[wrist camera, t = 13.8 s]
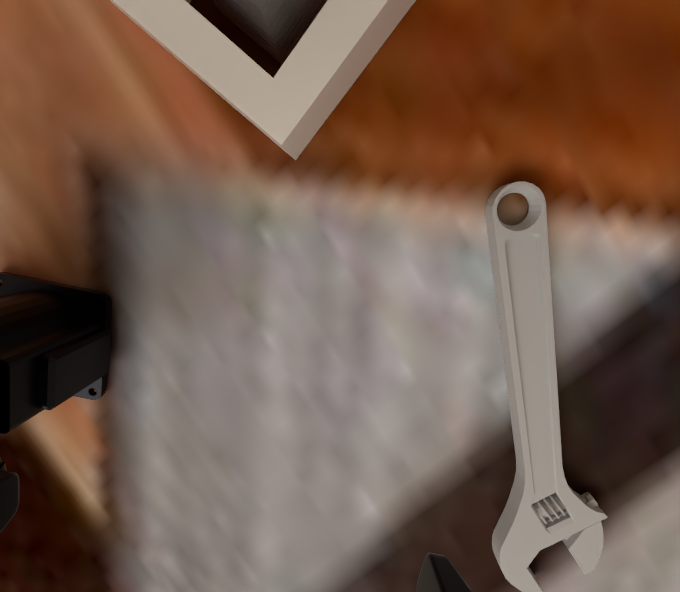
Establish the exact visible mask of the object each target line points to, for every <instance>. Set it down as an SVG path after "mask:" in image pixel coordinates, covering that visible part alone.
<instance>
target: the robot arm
mask: <svg viewBox="0 0 680 592" xmlns="http://www.w3.org/2000/svg"><path fill="white" fill-rule="evenodd" d="M0 279H1V280H2V283H1V282H0V433H2V434H5V433H8V432H9V431H11V430H12V429H14V428H16V427H17V426H19V425H20V424H22V423H24V422H25V421H27V420H28V419H30V418H31V417H33V416H35V415H36V414H38V413H39V412H41V411H43V410H44V409H46V410H52V409H53V408H55V407H56V406H58V405H60V404H61V403H63V402H64V401H66V400H67V399H69V398H70V397H72V396H76V397H81V398H86V399H91V400H96V399H99V398H100V397H101V396H103V395H104V394H105V391H106V377H107V373H108V371H109V358H110V343H111V333H110V317H111V298H110V296H109V295H108V294H107V293H104V292H100V291H95V290H90V289H85V288H80V287H75V286H70V285H65V284H60V283H56V282H51V281H46V280H41V279H36V278H31V277H26V276H21V275H16V274H11V273H6V272H0ZM98 298H99V299H101V300H102V305H101V304H100V303H99V302H98ZM93 388H94V389H95V390H96V391H97V393H96V392H95V391H94V390H93ZM18 505H19V476H18V475H17V473H14V472H9V471H6V466H5V463H4V462H1V459H0V532H1V531H2V530H3V529H4V527H5V526H6V525H7V524H8V523H9V521H10V520H11V519H12V517H13V516H14V514H15V513H16V511H17V509H18ZM417 592H472V591H471V589H470V588H469V587H468V585H467V584H466V582H465V581H464V580H463V578H462V577H461V575H460V574H459V573H458V571H457V570H456V569H455V567H454V566H453V564H452V563H451V562H450V560H449V559H448V558H447V557H446V556H444V555H439V554H434V553H428V554H427V555H426V557H425V559H424V563H423V566H422V569H421V572H420V575H419V578H418V582H417Z"/></svg>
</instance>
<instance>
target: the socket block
mask: <svg viewBox="0 0 680 592" xmlns="http://www.w3.org/2000/svg"><path fill="white" fill-rule="evenodd" d="M110 1H111V2H112V3H113V4H114V5H115V6H116V7H118V8H119V9H120V10H121V11H122V12H123V13H124V14H125V15H126V16H127V17H129V18H130V19H131V20H132V21H133V22H134V23H135V24H137V25H138V26H139V27H140V28H141V29H142V30H144V31H145V32H146V33H147V34H148V35H149V36H151V37H152V38H153V39H154V40H155V41H156V42H158V43H159V44H160V45H161V46H162V47H163V48H165V49H166V50H167V51H168V52H169V53H170V54H172V55H173V56H174V57H175V58H176V59H177V60H179V61H180V62H181V63H182V64H183V65H184V66H186V67H187V68H188V69H189V70H190V71H191V72H193V73H194V74H195V75H196V76H197V77H199V78H200V79H201V80H202V81H203V82H204V83H206V84H207V85H208V86H209V87H210V88H211V89H213V90H214V91H215V92H216V93H217V94H218V95H220V96H221V97H222V98H223V99H224V100H225V101H227V102H228V103H229V104H230V105H231V106H232V107H234V108H235V109H236V110H237V111H238V112H239V113H241V114H242V115H243V116H244V117H245V118H246V119H248V120H249V121H250V122H251V123H252V124H253V125H255V126H256V127H257V128H258V129H259V130H260V131H262V132H263V133H264V134H265V135H266V136H268V137H269V138H270V139H271V140H272V141H273V142H275V143H276V144H277V145H278V146H279V147H280V148H282V149H283V150H284V151H285V152H286V153H287V154H289V155H290V156H291V157H292V158H293V159H294V160H296V159H297V158H298V157H299V155H300V154H301V153H302V151H303V150H304V149H305V147H306V146H307V145H308V143H309V142H310V141H311V139H312V138H313V137H314V135H315V134H316V133H317V131H318V130H319V129H320V127H321V126H322V125H323V123H324V122H325V121H326V119H327V118H328V117H329V115H330V114H331V113H332V111H333V110H334V109H335V107H336V106H337V105H338V103H339V102H340V101H341V99H342V98H343V97H344V95H345V94H346V93H347V92H348V90H349V89H350V88H351V86H352V85H353V84H354V82H355V81H356V80H357V78H358V77H359V76H360V74H361V73H362V72H363V70H364V69H365V68H366V66H367V65H368V64H369V62H370V61H371V60H372V58H373V57H374V56H375V54H376V53H377V52H378V50H379V49H380V48H381V46H382V45H383V44H384V42H385V41H386V40H387V38H388V37H389V36H390V34H391V33H392V32H393V30H394V29H395V28H396V26H397V25H398V24H399V22H400V21H401V20H402V18H403V17H404V16H405V14H406V13H407V12H408V10H409V9H410V8H411V6H412V5H413V4H414V2H415V1H416V0H328V1H327V2H326V3H325V5H324V6H323V8H322V9H321V11H320V12H319V13H318V15H317V16H316V18H315V19H314V21H313V22H312V23H311V25H310V26H309V28H308V29H307V31H306V32H305V33H304V35H303V36H302V38H301V39H300V41H299V42H298V43H297V45H296V46H295V48H294V49H293V51H292V52H291V53H290V55H289V56H288V58H287V59H286V60H285V62H284V63H283V65H282V66H281V68H280V69H279V70H278V72H277V73H276V75H275V76H274V78H273V77H271V76H270V75H269V74H268V73H267V72H266V71H265V70H263V69H262V68H261V67H260V66H259V65H258V64H257V63H256V62H254V61H253V60H252V59H251V58H250V57H249V56H248V55H246V54H245V53H244V52H243V51H242V50H241V49H240V48H239V47H237V46H236V45H235V44H234V43H233V42H232V41H231V40H229V39H228V38H227V37H226V36H225V35H224V34H223V33H222V32H220V31H219V30H218V29H217V28H216V27H215V26H214V25H212V24H211V23H210V22H209V21H208V20H207V19H206V18H204V17H203V16H202V15H201V14H200V13H199V12H198V11H197V10H195V9H194V8H193V7H192V6H191V5H190V2H191V1H192V0H110Z"/></svg>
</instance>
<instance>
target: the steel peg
mask: <svg viewBox="0 0 680 592" xmlns="http://www.w3.org/2000/svg"><path fill="white" fill-rule="evenodd" d="M327 1H328V0H213V2H214V3H215V5H216V6H217V8H218V10H219V11H220V12H221V13H222V14H224V15H225V16H226V17H227V18H228V19H229V20H230V21H232V22H233V23H234V24H235V25H236V26H237V27H238V28H240V29H241V30H242V31H243V32H244V33H245V34H246V35H248V36H249V37H250V38H251V39H252V40H253V41H254V42H256V43H257V44H258V45H259V46H260V47H261V48H262V49H264V50H265V51H266V52H267V53H268V54H269V55H270V56H272V57H273V58H274V59H275V60H276V61H277V62H278V63H280V64H281V65H283V63H284V62H285V60H286V59H287V58H288V56H289V55H290V53H291V52H292V51H293V49H294V48H295V46H296V45H297V43H298V42H299V41H300V39H301V38H302V36H303V35H304V33H305V32H306V31H307V29H308V28H309V26H310V25H311V23H312V22H313V21H314V19H315V18H316V16H317V15H318V13H319V12H320V11H321V9H322V8H323V6H324V5H325V3H326V2H327Z"/></svg>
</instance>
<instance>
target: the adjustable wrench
mask: <svg viewBox="0 0 680 592" xmlns="http://www.w3.org/2000/svg"><path fill="white" fill-rule="evenodd" d="M509 193H520V194H522V195H523V196H525V197H526V199H527V201H528V204H529V210H528V214H527V216H526V218H525V219H524V220H523V221H522V222H521V223H519V224H517V225H506V224H504V223H503V222H501V221H500V219H499V218H498V215H497V206H498V203H499V201H500V200H501V198H502V197H504V196H505V195H507V194H509ZM485 216H486V224H487V232H488V240H489V248H490V256H491V264H492V271H493V279H494V287H495V295H496V303H497V311H498V319H499V327H500V335H501V343H502V351H503V359H504V366H505V374H506V382H507V390H508V398H509V406H510V414H511V422H512V430H513V438H514V446H515V453H516V474H515V479H514V483H513V486H512V489H511V492H510V496H509V499H508V501H507V504H506V506H505V509H504V511H503V513H502V515H501V517H500V519H499V521H498V523H497V525H496V527H495V529H494V532H493V536H492V548H493V552H494V554H495V556H496V559H497V561H498V563H499V566H500V568H501V570H502V572H503V574H504V576H505V578H506V579H507V580H508V581H509V582H510V583H511V584H512V585H513V586H515V587H516V588H518V589H519V590H521V591H522V592H543V591H542V589H541V587H540V585H539V583H538V581H537V579H536V577H535V575H534V574H533V572H532V571H531V569H530V568H529V567H528V566H529V565H530V563H531V562H532V560H533V559H534V558H535V556H536V555H537V554H538V552H539V551H540V550H542V549H544V548H546V547H548V546H550V545H553V544H555V543H557V542H559V541H561V540H563V542H564V543H565V545H566V546H567V548H568V550H569V551H570V553H571V554H572V556H573V557H574V559H575V560H576V562H577V563H578V565H579V566H580V568H581V569H582V571H583V572H584V574H585V575H586V574H588V573H591V572H593V570H594V568H595V567H596V565H597V563H598V561H599V559H600V556H601V553H602V550H603V528H602V523H601V521H602V520H604V519H606V518H608V517H607V516H606V514H605V513H604V512H603V511H602V510H601V509H600V508H599V506H598V504H597V502H596V501H595V499H594V498H593V497H592V496H591V494H590V493H589V492H586V493H584V494H582V495H579V494H578V493H576V492H575V491H573V490H572V489H571V488H570V487H569V486H568V484H567V482H566V479H565V477H564V472H563V467H562V452H561V436H560V420H559V404H558V388H557V372H556V356H555V341H554V325H553V309H552V293H551V277H550V261H549V245H548V229H547V213H546V202H545V198H544V195H543V193H542V192H541V190H540V189H539V188H538V187H537V186H535V185H534V184H532V183H529V182H525V181H524V182H514V183H509V184H506V185H503V186H501V187H499V188H498V189H496V190H495V191H494V192H493V193H492V194H491V196H490V197H489V199H488V201H487V204H486V209H485Z"/></svg>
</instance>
